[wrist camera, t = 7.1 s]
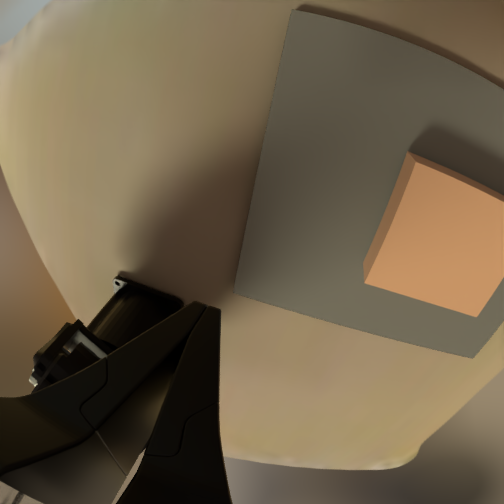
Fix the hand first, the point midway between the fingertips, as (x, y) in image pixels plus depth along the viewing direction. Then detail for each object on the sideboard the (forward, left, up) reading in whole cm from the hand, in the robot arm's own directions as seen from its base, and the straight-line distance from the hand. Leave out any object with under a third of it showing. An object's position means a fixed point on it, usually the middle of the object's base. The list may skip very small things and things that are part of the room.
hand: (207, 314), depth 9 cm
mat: (+9, +1, -10) cm, 14 cm away
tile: (+6, +1, -9) cm, 11 cm away
